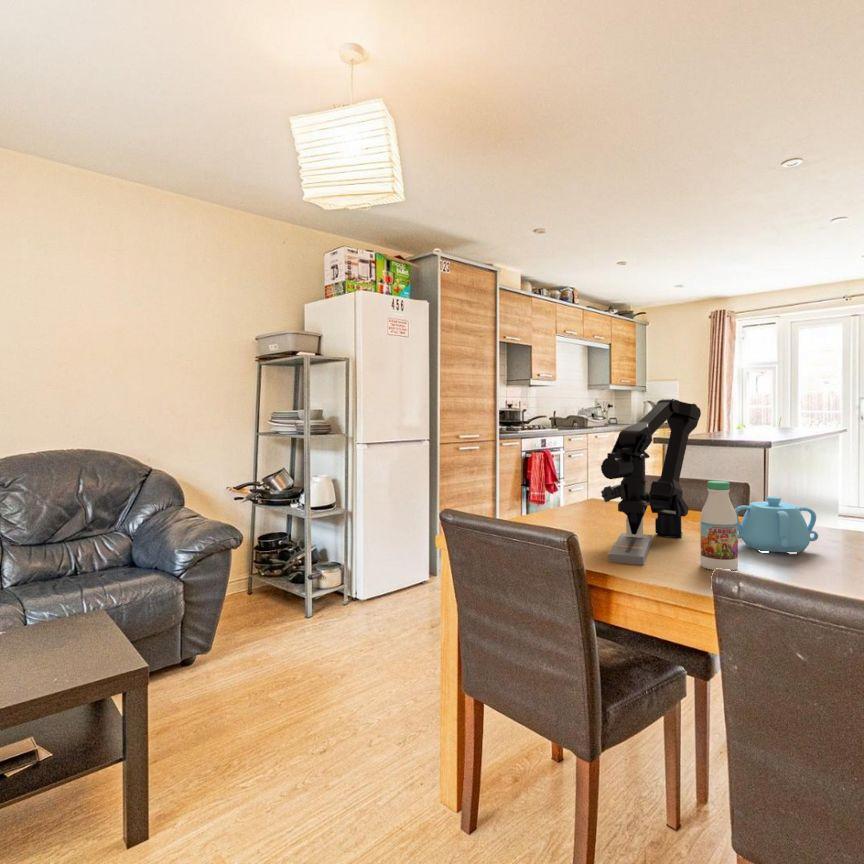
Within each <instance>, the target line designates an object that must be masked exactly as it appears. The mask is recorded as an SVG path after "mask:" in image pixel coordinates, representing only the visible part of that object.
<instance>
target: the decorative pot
mask: <svg viewBox="0 0 864 864" xmlns="http://www.w3.org/2000/svg"><path fill="white" fill-rule="evenodd" d="M765 498H766V501H765V500H764V501H753V502H751V503H750V504H749V505H739V506H737V507H735V508H734V510H735V512H736V515H737V525H738V539H741V540H742V541H743V542H744V543H745V545H746V546H748V547H749V548H752V549H755V550H757V551H758V550H760V551H769V552H777V553H778V552H779V553H786V552H797V553H801V552H804V551H805V550H806V549H807V548H808V546H809V545H810V542H816V541H817V540H818V539H819V534H818V532H817V531H815V530H813V529H814V527H815V525H816V522H817V513H816V512H815V511H814V509H812V508H809V507H806V506H797V505H796V504H793V503H790V502H784V501H782V498H781V497H779V496H767V497H765ZM743 510H746V511H745V513H744V515H743V517H742V519H741V522H740V519H739V512H740V511H743ZM803 511H804V512H808V513H809V514H810V520H809V523H808V524H807V522H806V520H805V518H804V515H803V514H802V512H803ZM811 534H813V536H811Z"/></svg>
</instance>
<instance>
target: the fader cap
mask: <svg viewBox="0 0 864 864" xmlns="http://www.w3.org/2000/svg"><path fill="white" fill-rule="evenodd" d="M625 526H626V527H625V530H626V531H625V533H626V537H636V538H642V537H643V534H644V517H643V518H642V520H641V523H640V526H639V528H638V531H637V533H636V534H632V532H631V529H630V525H629V521H628V517H627V516H626V518H625Z"/></svg>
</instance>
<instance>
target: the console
mask: <svg viewBox="0 0 864 864" xmlns="http://www.w3.org/2000/svg"><path fill="white" fill-rule="evenodd" d="M652 543H653V535H652V534H644V533H643V537H642V538H636V537H626V532H620V534H619V536H618V538H617V539H616V541H615V542H614V544H613V546H612V547H611V548H610V550H609V552H608V555H607V557H608V562H609V563H615V564H617V563H619V564H626V563H627V564H628V565H638V566H639V565H640V566H645V563H646V560H647V557H648V554H649V552H650V548H651V545H652ZM627 564H626V565H627Z"/></svg>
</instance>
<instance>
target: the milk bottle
mask: <svg viewBox="0 0 864 864" xmlns="http://www.w3.org/2000/svg"><path fill="white" fill-rule="evenodd" d="M706 485H707V492H708V495H707V498H706V502H705V503H704V505H703V507H702V510H701V513H700V521H699V523H700V525H699V532H700V534H699V535H700V536H699V542H700V543H699V544H700V545H699V546H700V547H699V548H700V549H699V555H700V556H699V558H700V560H699V561H700V562H699V563H700V565H701V567H702V568H704V569H706V568H707V569H706V570H709V569H710V571H714V569H716V568H722V569H730V570H734V571H736V570H738V567H739V538H738V534H739V531H738V525H737V515H736V512H735V508H734V506H733V504H732V502H731V498H730V495H729V494H730V488H731V484H730V482H729V481H725V480H708V481H707V484H706ZM711 569H712V570H711Z"/></svg>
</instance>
